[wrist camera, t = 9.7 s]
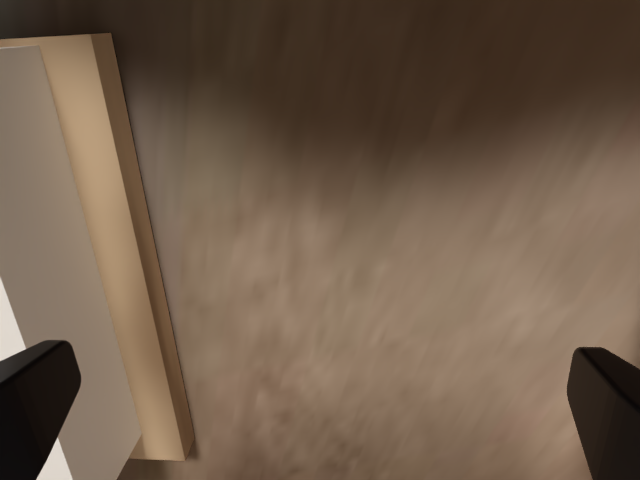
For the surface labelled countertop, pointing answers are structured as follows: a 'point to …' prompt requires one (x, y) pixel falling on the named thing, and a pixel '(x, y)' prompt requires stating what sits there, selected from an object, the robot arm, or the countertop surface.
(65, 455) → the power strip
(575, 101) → the countertop surface
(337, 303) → the countertop surface
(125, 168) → the mounting board
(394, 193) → the countertop surface
